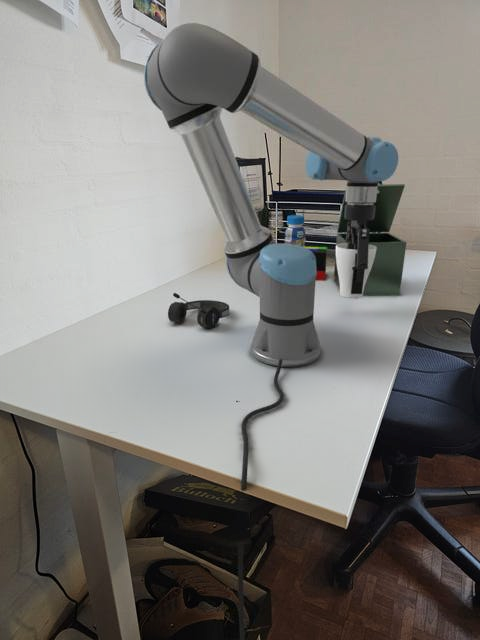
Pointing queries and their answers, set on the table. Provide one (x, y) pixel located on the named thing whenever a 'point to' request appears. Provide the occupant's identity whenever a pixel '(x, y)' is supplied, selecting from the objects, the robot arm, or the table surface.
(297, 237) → the beverage bottle
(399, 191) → the bin lid
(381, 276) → the bin
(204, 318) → the headset
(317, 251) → the puzzle toy
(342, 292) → the cup
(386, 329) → the table surface
